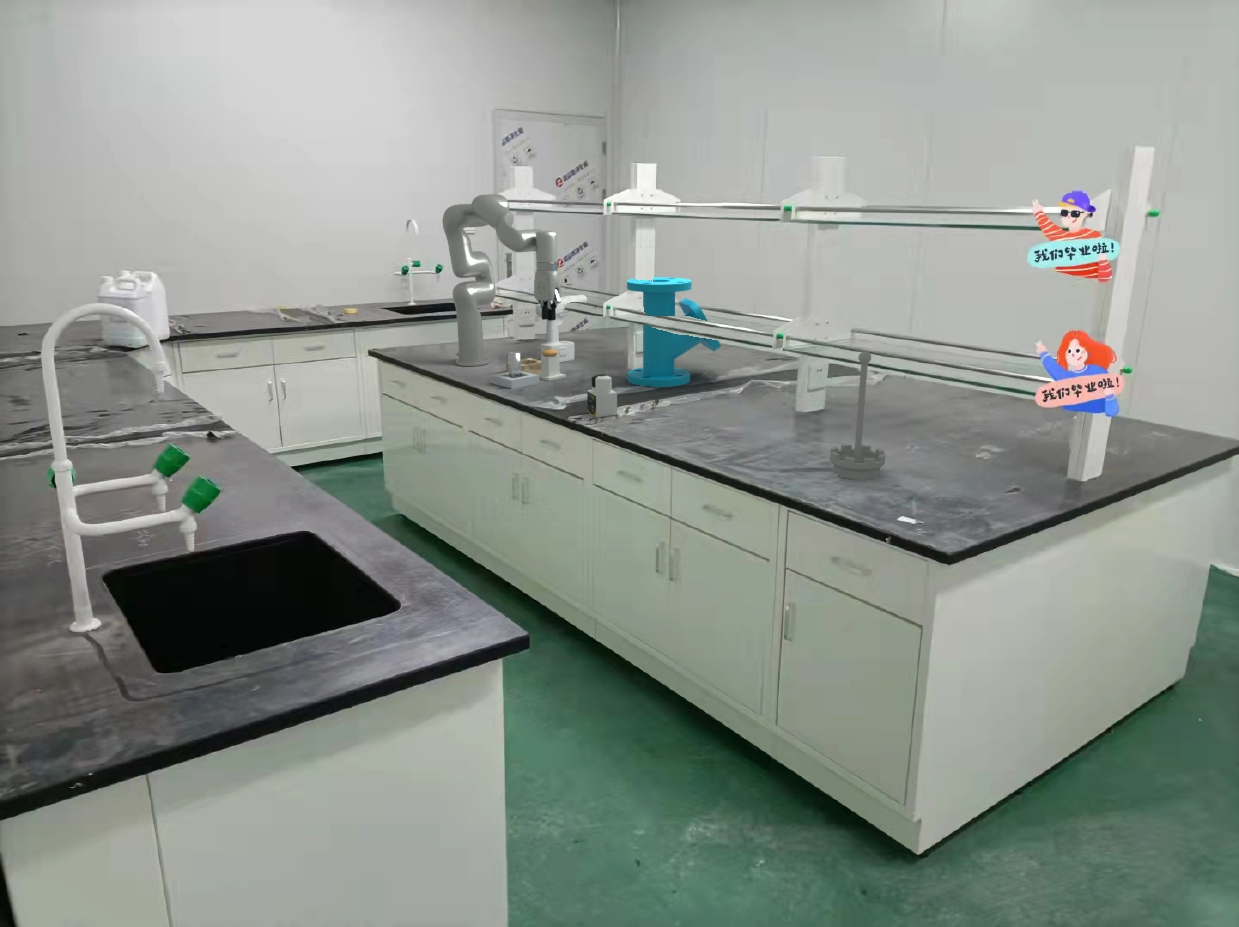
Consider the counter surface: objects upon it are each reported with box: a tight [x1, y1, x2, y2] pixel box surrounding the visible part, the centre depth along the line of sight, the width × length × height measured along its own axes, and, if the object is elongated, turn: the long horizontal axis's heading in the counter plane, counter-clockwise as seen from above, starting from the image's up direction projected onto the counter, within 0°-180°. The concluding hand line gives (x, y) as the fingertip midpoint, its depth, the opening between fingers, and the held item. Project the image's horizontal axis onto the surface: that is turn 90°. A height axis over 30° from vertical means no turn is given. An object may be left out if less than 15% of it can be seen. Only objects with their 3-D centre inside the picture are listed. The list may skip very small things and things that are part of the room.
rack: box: [505, 357, 541, 375], centre depth 333 cm, size 11×11×4 cm
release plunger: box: [542, 349, 558, 357], centre depth 323 cm, size 6×6×8 cm
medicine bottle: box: [586, 374, 618, 418], centre depth 273 cm, size 7×7×12 cm
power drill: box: [535, 294, 588, 364], centre depth 352 cm, size 8×24×25 cm, turn 132°
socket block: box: [491, 371, 540, 390], centre depth 315 cm, size 12×12×3 cm
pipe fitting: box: [626, 276, 722, 388], centre depth 315 cm, size 22×32×35 cm
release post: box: [537, 355, 567, 382], centre depth 324 cm, size 8×8×8 cm
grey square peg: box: [507, 351, 522, 378], centre depth 314 cm, size 4×4×11 cm
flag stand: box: [829, 350, 886, 481], centre depth 214 cm, size 13×13×30 cm
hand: (548, 319), depth 318 cm, fingers open, 2 cm apart
